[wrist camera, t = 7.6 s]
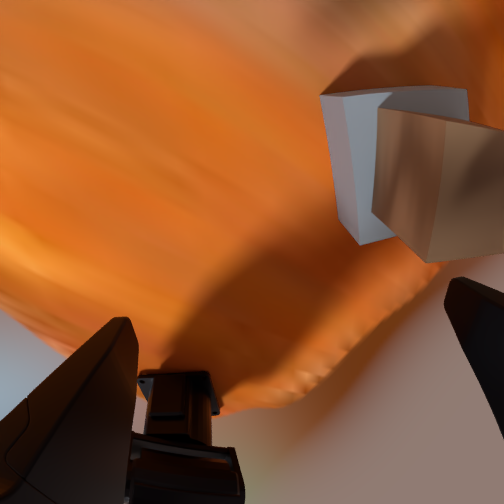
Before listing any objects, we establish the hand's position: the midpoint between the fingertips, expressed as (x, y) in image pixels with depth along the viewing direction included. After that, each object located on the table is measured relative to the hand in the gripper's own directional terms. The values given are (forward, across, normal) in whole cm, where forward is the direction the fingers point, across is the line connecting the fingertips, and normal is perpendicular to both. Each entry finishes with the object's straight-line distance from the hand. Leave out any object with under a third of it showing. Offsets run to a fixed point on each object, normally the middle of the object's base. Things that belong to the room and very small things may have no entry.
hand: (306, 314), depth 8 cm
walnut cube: (+8, -8, -2) cm, 12 cm away
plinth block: (+12, -8, -2) cm, 15 cm away
